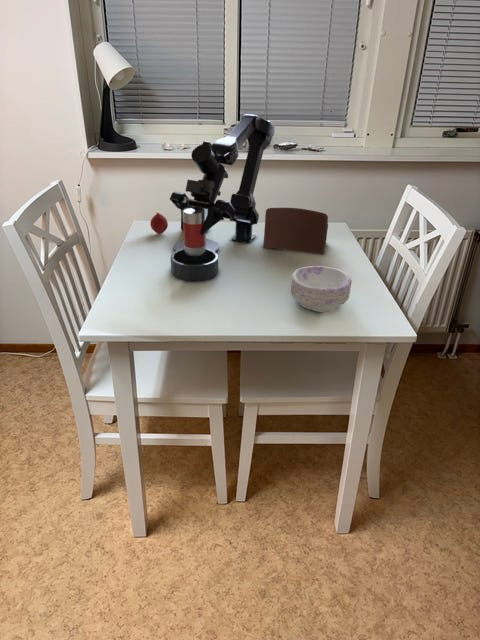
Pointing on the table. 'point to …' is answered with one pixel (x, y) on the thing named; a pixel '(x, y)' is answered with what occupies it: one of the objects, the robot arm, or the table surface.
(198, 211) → the cylinder
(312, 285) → the paper bowls
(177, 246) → the lid
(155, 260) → the table surface
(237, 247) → the table surface
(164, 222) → the onion
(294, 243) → the letter holder
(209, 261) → the pot
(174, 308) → the table surface
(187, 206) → the robot arm
